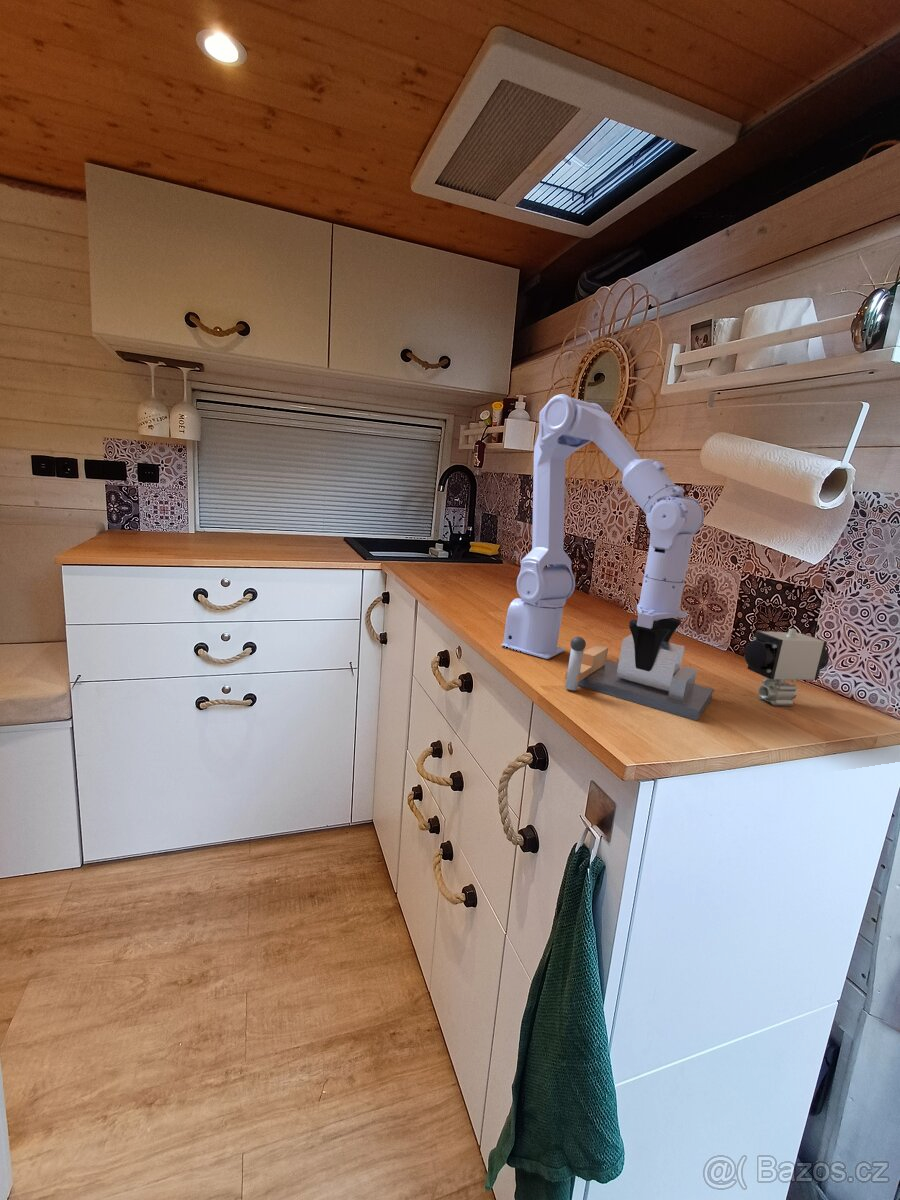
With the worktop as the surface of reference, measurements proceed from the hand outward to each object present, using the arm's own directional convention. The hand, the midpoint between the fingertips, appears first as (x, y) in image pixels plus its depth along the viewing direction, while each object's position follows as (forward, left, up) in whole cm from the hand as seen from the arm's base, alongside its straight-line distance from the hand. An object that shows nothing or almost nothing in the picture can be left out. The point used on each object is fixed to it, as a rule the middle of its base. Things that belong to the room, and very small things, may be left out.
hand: (647, 665), depth 85 cm
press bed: (0, 0, -4) cm, 4 cm away
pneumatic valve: (+17, +13, -4) cm, 22 cm away
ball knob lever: (-8, -3, -4) cm, 10 cm away
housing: (0, 0, -2) cm, 2 cm away
